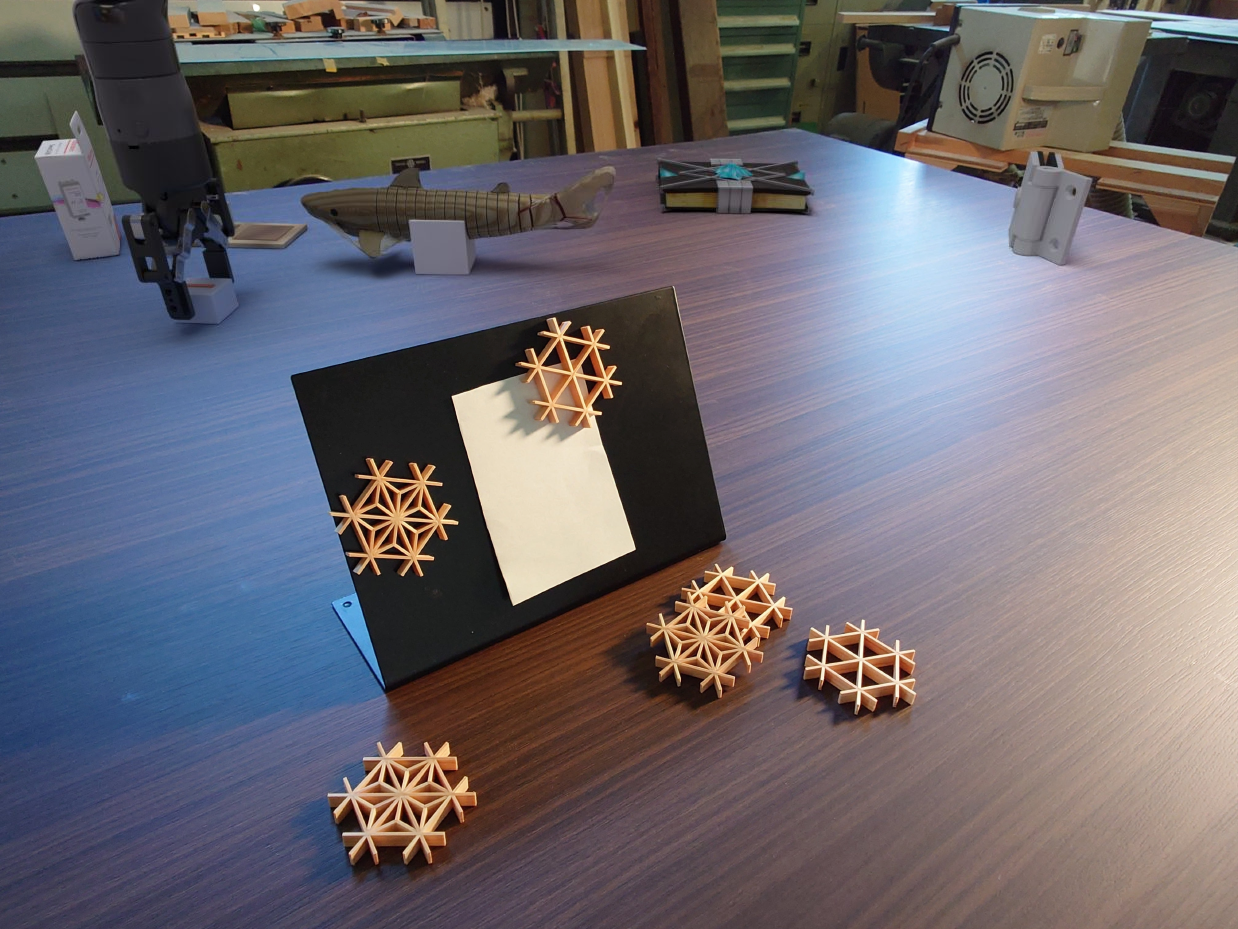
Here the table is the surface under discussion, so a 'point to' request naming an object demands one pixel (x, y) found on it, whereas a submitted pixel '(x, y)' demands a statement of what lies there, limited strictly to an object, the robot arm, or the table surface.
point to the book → (732, 186)
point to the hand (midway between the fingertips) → (204, 301)
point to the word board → (263, 235)
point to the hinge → (1047, 208)
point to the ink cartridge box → (79, 194)
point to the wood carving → (451, 216)
